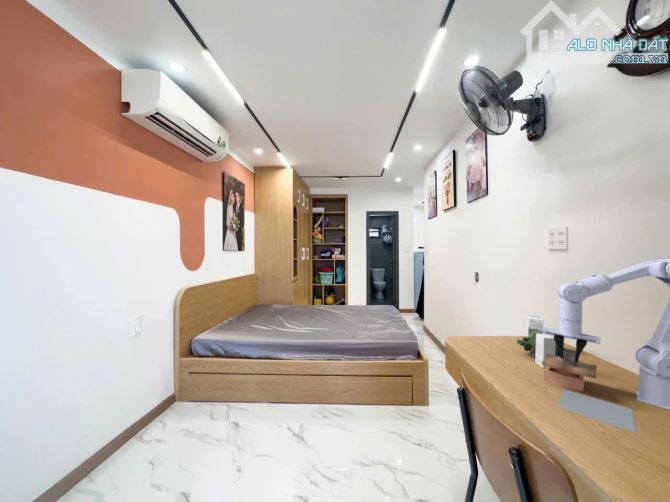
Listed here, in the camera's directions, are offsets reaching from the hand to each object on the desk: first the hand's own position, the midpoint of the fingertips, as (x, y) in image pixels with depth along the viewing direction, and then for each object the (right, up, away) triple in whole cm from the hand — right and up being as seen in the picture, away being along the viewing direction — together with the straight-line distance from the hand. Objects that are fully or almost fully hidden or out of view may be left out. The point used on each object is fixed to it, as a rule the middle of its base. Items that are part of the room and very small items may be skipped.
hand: (569, 359), depth 90 cm
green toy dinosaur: (+10, -9, +24) cm, 28 cm away
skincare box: (+4, -9, +16) cm, 19 cm away
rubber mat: (-4, -9, -13) cm, 17 cm away
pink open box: (+1, -9, +3) cm, 9 cm away
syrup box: (+16, -10, +37) cm, 42 cm away
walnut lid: (0, -2, 0) cm, 2 cm away
